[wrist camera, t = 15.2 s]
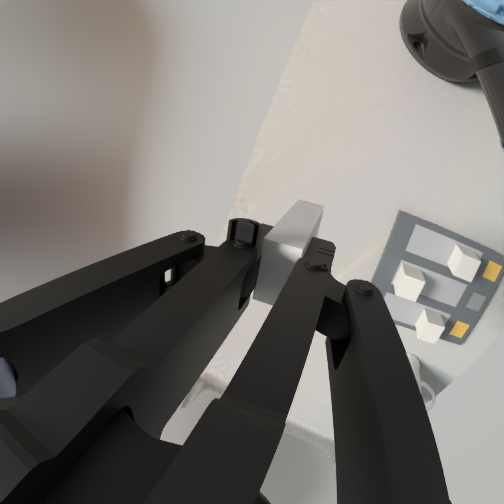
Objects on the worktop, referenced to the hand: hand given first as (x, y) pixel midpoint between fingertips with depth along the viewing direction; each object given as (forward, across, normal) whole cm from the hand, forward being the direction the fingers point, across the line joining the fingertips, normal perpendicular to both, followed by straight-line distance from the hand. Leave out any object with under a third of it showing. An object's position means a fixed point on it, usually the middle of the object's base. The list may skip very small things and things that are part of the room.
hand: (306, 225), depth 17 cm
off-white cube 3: (+27, +22, -19) cm, 39 cm away
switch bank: (+28, +21, -13) cm, 37 cm away
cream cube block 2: (+27, +15, -13) cm, 33 cm away
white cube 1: (+27, +22, -7) cm, 36 cm away
